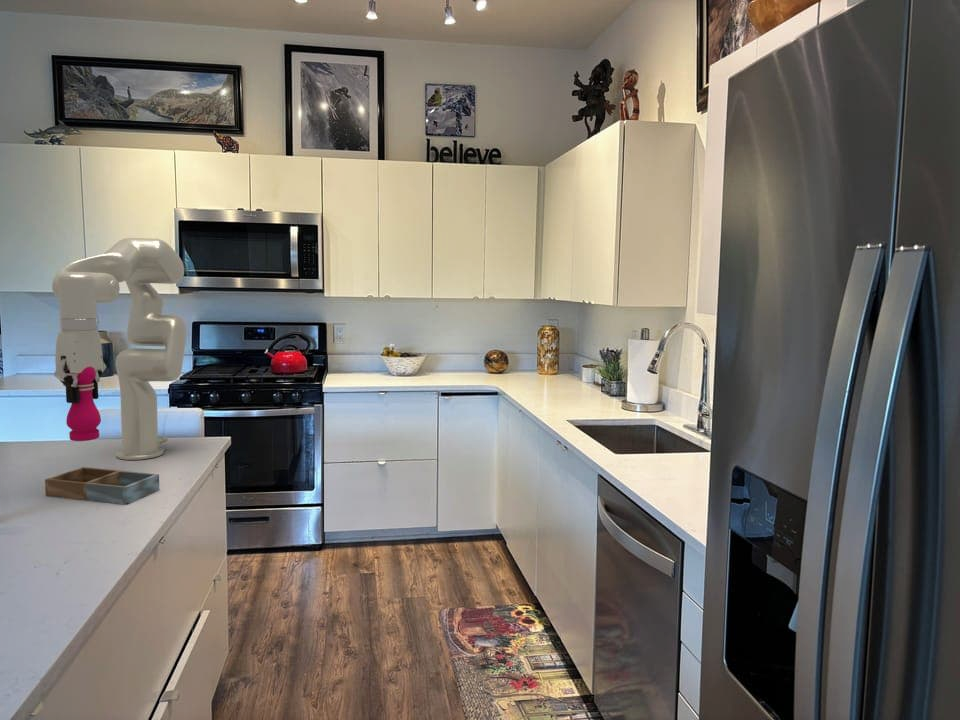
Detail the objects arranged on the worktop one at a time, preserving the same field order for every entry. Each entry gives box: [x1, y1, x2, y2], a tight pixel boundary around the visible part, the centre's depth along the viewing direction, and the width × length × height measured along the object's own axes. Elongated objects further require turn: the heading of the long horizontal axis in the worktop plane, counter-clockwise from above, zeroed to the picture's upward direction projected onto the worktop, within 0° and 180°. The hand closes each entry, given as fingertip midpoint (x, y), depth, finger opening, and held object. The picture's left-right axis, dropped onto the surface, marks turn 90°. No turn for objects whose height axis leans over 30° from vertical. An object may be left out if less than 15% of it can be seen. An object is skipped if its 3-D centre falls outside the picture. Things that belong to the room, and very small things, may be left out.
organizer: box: [44, 466, 160, 505], centre depth 161 cm, size 11×22×4 cm, turn 78°
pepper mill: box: [65, 367, 102, 442], centre depth 160 cm, size 7×7×20 cm
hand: (82, 399), depth 161 cm, fingers closed on pepper mill, 5 cm apart
